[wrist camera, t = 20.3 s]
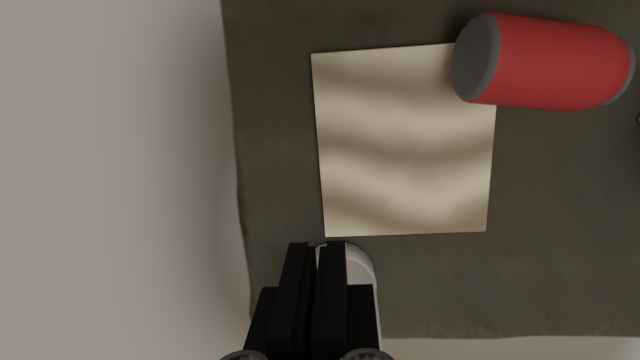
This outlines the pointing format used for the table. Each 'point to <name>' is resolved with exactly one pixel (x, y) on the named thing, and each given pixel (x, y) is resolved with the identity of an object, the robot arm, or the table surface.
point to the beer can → (539, 63)
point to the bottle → (359, 273)
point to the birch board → (399, 143)
